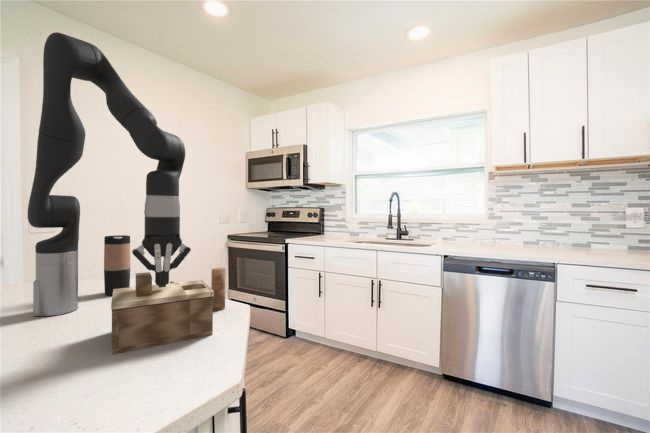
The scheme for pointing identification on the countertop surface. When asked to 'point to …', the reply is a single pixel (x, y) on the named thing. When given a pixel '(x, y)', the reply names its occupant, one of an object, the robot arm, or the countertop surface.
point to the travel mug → (116, 263)
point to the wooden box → (161, 323)
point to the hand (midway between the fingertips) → (162, 286)
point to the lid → (157, 292)
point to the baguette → (218, 288)
